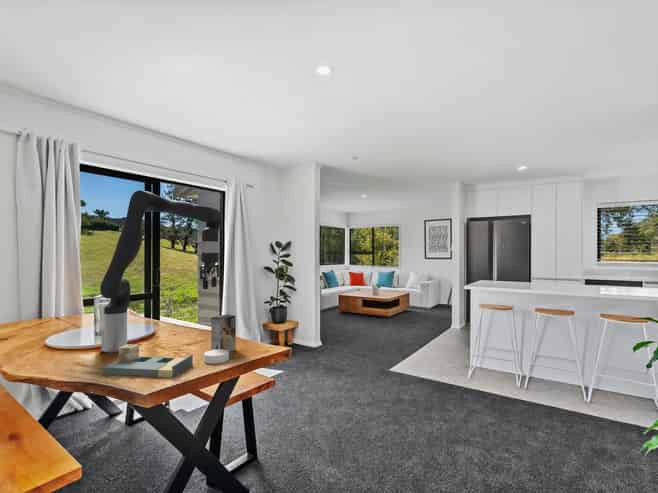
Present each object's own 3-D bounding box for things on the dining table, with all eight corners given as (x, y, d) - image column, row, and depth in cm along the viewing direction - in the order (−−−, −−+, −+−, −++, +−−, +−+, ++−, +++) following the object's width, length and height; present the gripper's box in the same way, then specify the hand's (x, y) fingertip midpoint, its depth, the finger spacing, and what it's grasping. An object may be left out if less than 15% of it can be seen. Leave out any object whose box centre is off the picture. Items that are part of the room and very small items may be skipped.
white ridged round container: (218, 355, 154) (218, 347, 154) (233, 359, 148) (233, 351, 148) (198, 361, 145) (199, 352, 145) (214, 366, 140) (214, 357, 140)
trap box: (102, 374, 129) (102, 363, 129) (127, 361, 143) (127, 352, 143) (173, 377, 126) (173, 366, 126) (192, 364, 140) (192, 354, 140)
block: (118, 360, 137) (118, 347, 137) (127, 356, 142) (127, 344, 142) (130, 361, 137) (130, 348, 137) (138, 357, 142) (138, 344, 142)
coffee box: (226, 347, 164) (226, 313, 164) (236, 350, 161) (236, 315, 161) (210, 352, 157) (210, 317, 157) (220, 355, 153) (220, 318, 153)
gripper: (209, 251, 163) (208, 286, 163) (194, 251, 149) (194, 289, 149) (224, 251, 162) (224, 286, 162) (211, 252, 148) (210, 290, 148)
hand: (209, 287), depth 156 cm, fingers open, 8 cm apart
